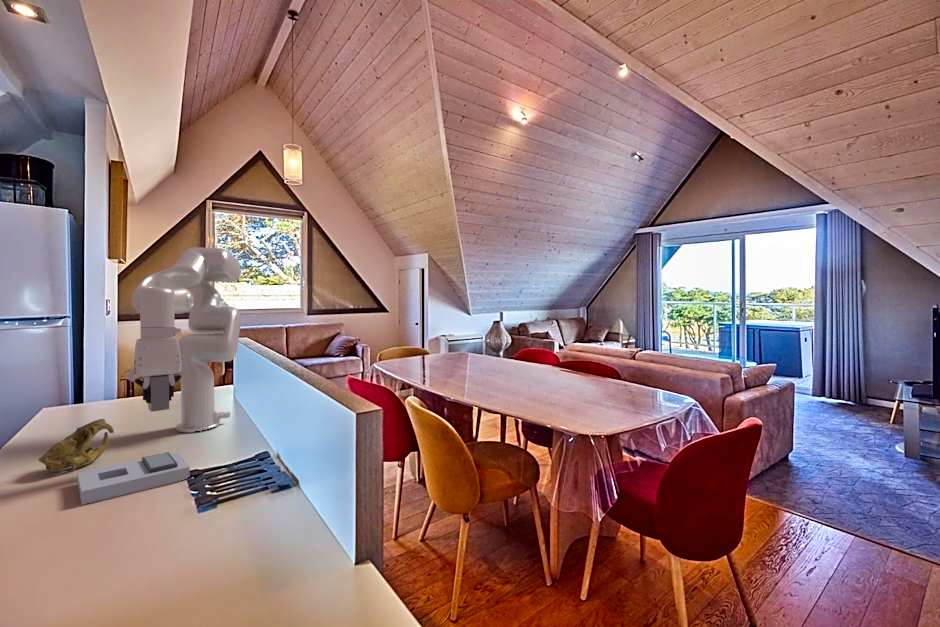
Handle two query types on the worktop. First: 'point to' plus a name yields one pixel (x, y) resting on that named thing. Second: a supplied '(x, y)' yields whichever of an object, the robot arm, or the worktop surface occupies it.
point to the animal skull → (77, 447)
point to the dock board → (131, 476)
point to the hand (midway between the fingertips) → (158, 400)
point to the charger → (159, 393)
